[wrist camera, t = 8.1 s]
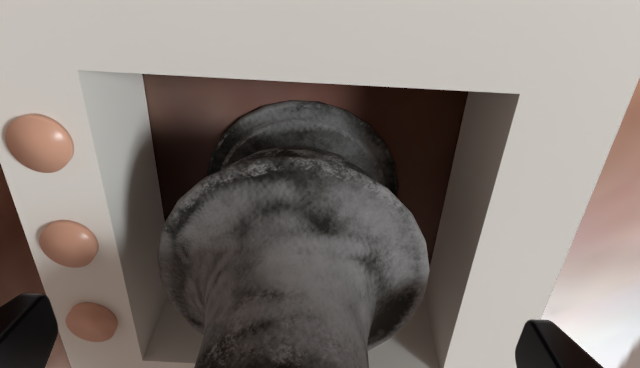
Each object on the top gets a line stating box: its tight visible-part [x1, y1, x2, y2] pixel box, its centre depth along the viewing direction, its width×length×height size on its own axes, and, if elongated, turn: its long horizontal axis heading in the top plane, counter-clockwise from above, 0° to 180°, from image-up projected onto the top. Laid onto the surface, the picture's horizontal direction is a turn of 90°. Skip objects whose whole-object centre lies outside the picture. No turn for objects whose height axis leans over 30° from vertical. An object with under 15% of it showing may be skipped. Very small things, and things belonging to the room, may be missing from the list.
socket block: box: [0, 0, 640, 368], centre depth 12 cm, size 12×12×3 cm
